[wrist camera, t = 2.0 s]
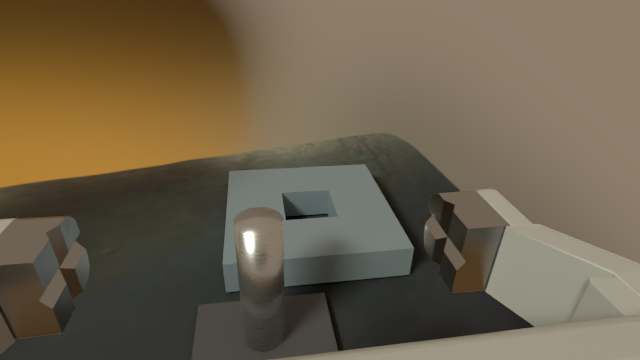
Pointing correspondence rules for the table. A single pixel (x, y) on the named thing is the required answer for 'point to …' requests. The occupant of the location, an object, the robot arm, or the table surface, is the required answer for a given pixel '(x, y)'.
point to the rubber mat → (235, 356)
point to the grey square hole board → (322, 224)
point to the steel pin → (261, 276)
